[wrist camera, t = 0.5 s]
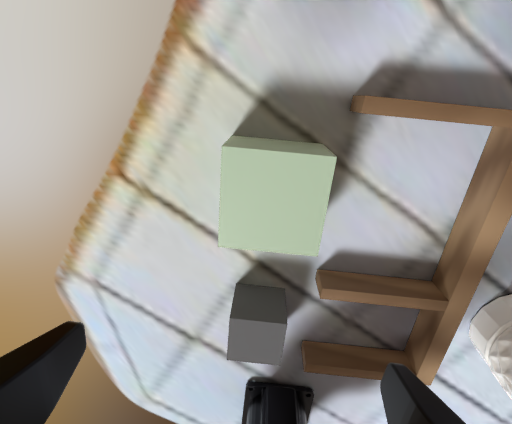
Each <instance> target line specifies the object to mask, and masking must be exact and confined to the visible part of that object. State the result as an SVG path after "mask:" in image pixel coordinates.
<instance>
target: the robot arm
mask: <svg viewBox="0 0 512 424" xmlns="http://www.w3.org/2000/svg"><path fill="white" fill-rule="evenodd" d="M85 349H86V336H85V329H84V325H83V323H81V322H74V321H68V322H65V323H63V324H61V325H59V326H58V327H56V328H54V329H52V330H50V331H48V332H46V333H45V334H43V335H41V336H39V337H37V338H35V339H33V340H32V341H30V342H28V343H26V344H24V345H22V346H21V347H19V348H17V349H15V350H13V351H11V352H9V353H7V354H6V355H4V356H2V357H0V424H44V423H45V422H46V420H47V419H48V417H49V416H50V414H51V412H52V411H53V409H54V408H55V406H56V404H57V402H58V401H59V399H60V397H61V395H62V393H63V391H64V389H65V387H66V386H67V384H68V382H69V380H70V378H71V376H72V374H73V372H74V370H75V369H76V367H77V365H78V363H79V361H80V359H81V357H82V356H83V354H84V352H85ZM380 389H381V394H382V399H383V404H384V408H385V413H386V417H387V422H388V424H466V423H465V422H464V421H463V420H462V419H461V418H460V417H458V416H457V415H456V414H455V413H454V412H453V411H452V410H451V409H450V408H449V407H448V406H447V405H446V404H445V403H444V402H443V401H442V400H441V399H440V398H439V397H438V396H437V395H436V394H435V393H433V392H432V391H431V390H430V389H429V388H428V387H427V386H426V385H425V384H424V383H423V382H422V381H421V380H420V379H419V378H418V377H417V376H416V375H415V374H414V373H413V372H412V371H411V370H410V369H408V368H407V367H406V366H405V365H403V364H399V363H389V364H388V365H387V367H386V369H385V372H384V375H383V377H382V380H381V384H380ZM313 397H314V393H313V390H312V389H311V388H306V387H297V386H288V385H278V384H269V383H260V382H248V383H247V384H246V390H245V399H244V408H243V417H242V424H307V421H308V417H309V413H310V409H311V405H312V401H313Z"/></svg>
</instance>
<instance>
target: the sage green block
mask: <svg viewBox="0 0 512 424" xmlns="http://www.w3.org/2000/svg"><path fill="white" fill-rule="evenodd" d="M336 159H337V156H335V155H334V154H333V153H332V152H331V151H330V150H329V149H328V148H327V147H325V146H324V145H323V144H318V143H308V142H297V141H286V140H276V139H265V138H254V137H243V136H233V135H232V136H231V137H230V138H229V139H228V140H227V141H226V142H225V143H224V144H223V145H222V154H221V180H220V207H219V233H218V247H224V248H234V249H244V250H255V251H265V252H275V253H285V254H296V255H306V256H316V257H318V252H319V247H320V242H321V236H322V231H323V226H324V221H325V216H326V211H327V206H328V200H329V195H330V190H331V185H332V180H333V175H334V170H335V164H336Z"/></svg>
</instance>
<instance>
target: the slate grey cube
mask: <svg viewBox="0 0 512 424" xmlns="http://www.w3.org/2000/svg"><path fill="white" fill-rule="evenodd" d="M286 329H287V314H286V301H285V289H283V288H274V287H264V286H254V285H245V284H236V287H235V292H234V298H233V303H232V309H231V314H230V322H229V336H228V350H227V360H233V361H242V362H251V363H261V364H270V365H280V363H281V358H282V352H283V346H284V340H285V335H286Z"/></svg>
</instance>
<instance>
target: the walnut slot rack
mask: <svg viewBox="0 0 512 424" xmlns="http://www.w3.org/2000/svg"><path fill="white" fill-rule="evenodd" d="M350 111H353V112H358V113H365V114H375V115H385V116H395V117H405V118H415V119H425V120H436V121H446V122H456V123H466V124H476V125H486V126H493V127H492V130H491V132H490V135H489V137H488V140H487V142H486V145H485V147H484V150H483V152H482V155H481V158H480V160H479V163H478V165H477V168H476V170H475V173H474V175H473V178H472V180H471V183H470V185H469V188H468V190H467V193H466V195H465V198H464V200H463V203H462V206H461V208H460V211H459V213H458V216H457V218H456V221H455V223H454V226H453V228H452V231H451V233H450V236H449V238H448V241H447V243H446V246H445V248H444V251H443V253H442V256H441V259H440V261H439V264H438V266H437V269H436V271H435V274H434V276H433V279H432V281H426V280H416V279H406V278H397V277H387V276H378V275H368V274H358V273H349V272H339V271H329V270H320V269H317V273H316V278H315V279H316V283H317V287H318V291H319V295H320V299H329V300H339V301H348V302H358V303H367V304H377V305H386V306H396V307H406V308H415V309H420V312H419V314H418V317H417V319H416V322H415V324H414V327H413V329H412V332H411V334H410V337H409V339H408V342H407V344H406V347H405V349H404V351H398V350H388V349H379V348H370V347H360V346H351V345H341V344H332V343H322V342H313V341H302V346H301V351H302V359H303V367H304V372H310V373H319V374H329V375H338V376H347V377H357V378H366V379H375V380H382V377H383V375H384V372H385V369H386V367H387V365H388V364H389V363H399V364H403V365H405V366H406V367H407V368H408V369H410V370H411V371H412V372H413V373H414V374H415V375H416V376H417V377H418V378H419V379H420V380H421V381H422V382H423V383H424V384H425V385H431V383H432V381H433V379H434V377H435V375H436V373H437V371H438V369H439V366H440V364H441V362H442V360H443V358H444V356H445V354H446V352H447V350H448V348H449V345H450V343H451V341H452V339H453V337H454V335H455V333H456V331H457V329H458V326H459V324H460V322H461V320H462V318H463V316H464V314H465V312H466V310H467V308H468V305H469V303H470V301H471V299H472V297H473V295H474V293H475V291H476V289H477V286H478V284H479V282H480V280H481V278H482V276H483V274H484V272H485V270H486V267H487V265H488V263H489V261H490V259H491V257H492V255H493V253H494V251H495V249H496V246H497V244H498V242H499V240H500V238H501V236H502V234H503V232H504V230H505V227H506V225H507V223H508V221H509V219H510V217H511V215H512V110H507V109H497V108H487V107H476V106H466V105H456V104H446V103H436V102H426V101H416V100H406V99H395V98H385V97H375V96H353V98H352V103H351V108H350Z"/></svg>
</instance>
